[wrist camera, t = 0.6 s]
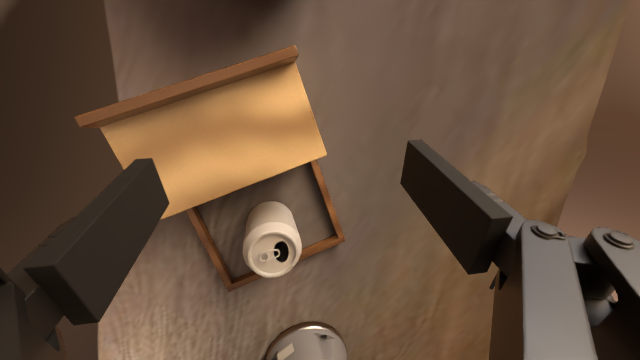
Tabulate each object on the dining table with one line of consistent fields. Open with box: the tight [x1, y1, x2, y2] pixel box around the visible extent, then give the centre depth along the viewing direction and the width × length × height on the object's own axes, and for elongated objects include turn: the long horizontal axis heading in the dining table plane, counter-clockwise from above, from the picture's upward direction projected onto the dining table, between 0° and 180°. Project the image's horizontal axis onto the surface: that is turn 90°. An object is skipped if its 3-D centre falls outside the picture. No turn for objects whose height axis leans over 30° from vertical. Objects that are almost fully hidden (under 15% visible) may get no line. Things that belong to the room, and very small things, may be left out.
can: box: [243, 201, 302, 278], centre depth 38 cm, size 8×8×12 cm
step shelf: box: [74, 45, 345, 292], centre depth 35 cm, size 29×21×14 cm
